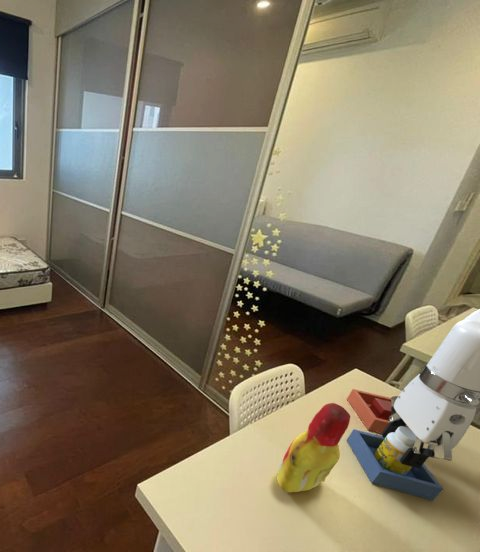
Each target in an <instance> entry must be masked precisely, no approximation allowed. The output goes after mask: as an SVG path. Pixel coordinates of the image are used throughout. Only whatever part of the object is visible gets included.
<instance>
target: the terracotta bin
mask: <svg viewBox="0 0 480 552" xmlns="http://www.w3.org/2000/svg"><path fill="white" fill-rule="evenodd" d="M375 398H377V399H381V400H385V401H389V402H391V397H389V396H384V395H380V394H376V393H371V392H367V391H363V390H359V389H355V388H352V390H351V391H350V393H349V394H348V396H347V397H346V400H347V402H348V403H349V405H350V406H351V407H352V409H353V410H354V411H355V413H356V414H357V416H358V418H359V419H360V420H361V422H362V424H363V425H364V426H365V428H366V429H367V431H370V432H375V433H378V434H382V432H383V431H384V429H385V428H386V427H387V425H388V424H389V422H390V421H387V420H383V419H379V418H377V417H376V416H375V415H374V413H373V412H372V411H371V409H370V408H369V407H370V405H371V404H372V402H373V401H374V399H375ZM405 426H406V425H405ZM407 427H408V426H407ZM408 428H409V427H408Z"/></svg>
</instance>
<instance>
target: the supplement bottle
mask: <svg viewBox="0 0 480 552" xmlns="http://www.w3.org/2000/svg"><path fill="white" fill-rule="evenodd" d="M416 437H417V436H416V435H415V434H414V433H413V431H412V430H411V429H410V428H408V427H404V426H400V427H398V428H397V430H396V432H391V433H389V434H388V435H387V436H386V438H385V439H384V440H383V442H382V443H381V445H380V446H379V448H378V449H377V450H376V452H375V453H374V457H375V458H376V460H377V462H378V463H379V465H380V466H381V468H382V469H383V470H386V471H390V472H393V473H397V474H401V475H404V476H405V475H406V474H407V473H408V472H409V470H410V469H411V468H412V467H411V466H408V465H404V464H402V463H401V462H400V459H401V457H402V456H403V455H404V454H405V452H406V451H407V450H408V448H413V447H414V444H415V440H416Z"/></svg>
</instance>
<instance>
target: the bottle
mask: <svg viewBox="0 0 480 552" xmlns="http://www.w3.org/2000/svg"><path fill="white" fill-rule="evenodd" d="M350 423H351V414H350V413H349V412H348V411H347V409H345V408H344V407H343V406H342V405H339V404H337V403H335V402H330V403H326V404H324V405H323V406H321V408H320V409H319V410H318V412H316V413H315V415H314V416H313V418H312V419H311V421H310V423H309V425H308V427H307V430H305V431H303V432H302V433H300V434H299V435H297V436H296V437H295V438H294V439H293V440H292V442H291V443H290V444H289V446H288V448H287V450H286V452H285V453H284V456H283V458H282V459H281V463H280V465H279V467H278V469H277V477H276V479H277V483H278V485H279V486H280V488H281V489H282V490H283V491H285V492H286V493H299V492H306V491H311V490H312V489H313V488H316V487H319V485H320V484H321V483H324V482H325V481H326V478H327V477H328V476H329V475H330V473H331V471H332V470H333V468H334V467H335V466H336V464H337V463H338V461H339V460H340V457H341V451H340V445H339V443H340V441H341V440H342V438H343V436H344V434H345V433H346V431H347V429H348V428H349V425H350Z"/></svg>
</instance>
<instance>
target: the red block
mask: <svg viewBox="0 0 480 552" xmlns="http://www.w3.org/2000/svg"><path fill="white" fill-rule="evenodd" d="M369 408H370V409H371V411H372V412H373V413H374V415H375V416H376V417H377V418H379V419H383V420H387V421H390V420H389V417H390V416H391V415H392V413H391V408H392V402H389V401H385V400H381V399H377V398H375V399H374V401H373V402H372V404H371V405H370V407H369Z"/></svg>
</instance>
